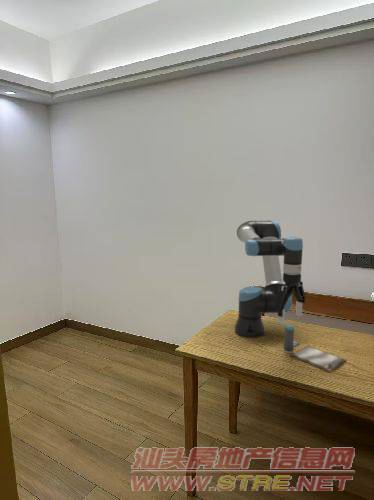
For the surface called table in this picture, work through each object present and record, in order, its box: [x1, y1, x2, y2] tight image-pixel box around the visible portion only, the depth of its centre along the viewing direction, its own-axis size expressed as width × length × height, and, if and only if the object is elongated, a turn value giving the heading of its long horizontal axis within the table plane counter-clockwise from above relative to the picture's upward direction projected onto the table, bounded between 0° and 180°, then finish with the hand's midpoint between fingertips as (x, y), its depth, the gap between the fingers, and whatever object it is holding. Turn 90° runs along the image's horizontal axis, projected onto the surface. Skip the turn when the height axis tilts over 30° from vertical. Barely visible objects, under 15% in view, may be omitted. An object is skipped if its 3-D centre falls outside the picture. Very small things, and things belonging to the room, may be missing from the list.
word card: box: [293, 340, 301, 348], centre depth 158 cm, size 4×6×1 cm, turn 130°
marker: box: [283, 324, 295, 355], centre depth 150 cm, size 4×4×12 cm
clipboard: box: [290, 345, 347, 373], centre depth 144 cm, size 18×14×2 cm
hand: (290, 319), depth 148 cm, fingers open, 13 cm apart
